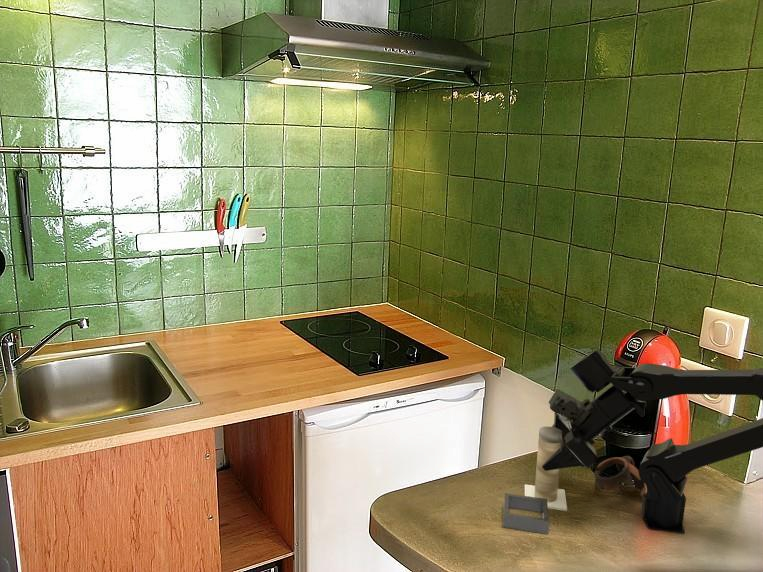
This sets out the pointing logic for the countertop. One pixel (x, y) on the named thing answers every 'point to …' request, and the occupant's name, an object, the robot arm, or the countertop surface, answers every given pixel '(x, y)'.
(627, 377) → the robot arm
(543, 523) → the metal holder
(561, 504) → the off-white pad
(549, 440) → the beige cylinder grey cap
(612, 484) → the pottery mug
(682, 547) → the countertop surface
